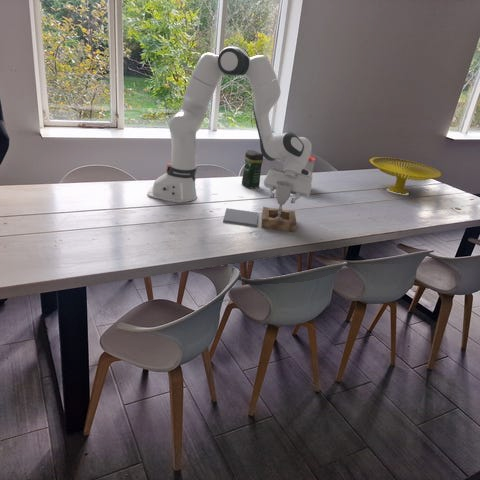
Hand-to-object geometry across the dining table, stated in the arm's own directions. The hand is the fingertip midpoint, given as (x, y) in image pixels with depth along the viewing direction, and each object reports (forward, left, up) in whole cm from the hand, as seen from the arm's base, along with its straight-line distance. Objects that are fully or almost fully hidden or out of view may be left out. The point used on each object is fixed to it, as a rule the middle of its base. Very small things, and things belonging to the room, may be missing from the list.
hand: (281, 199), depth 179 cm
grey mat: (-16, 0, -11) cm, 19 cm away
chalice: (0, 0, -11) cm, 11 cm away
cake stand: (+72, +75, -11) cm, 105 cm away
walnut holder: (0, 0, -11) cm, 11 cm away
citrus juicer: (+10, +55, -11) cm, 57 cm away
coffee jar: (-14, +47, -11) cm, 50 cm away
